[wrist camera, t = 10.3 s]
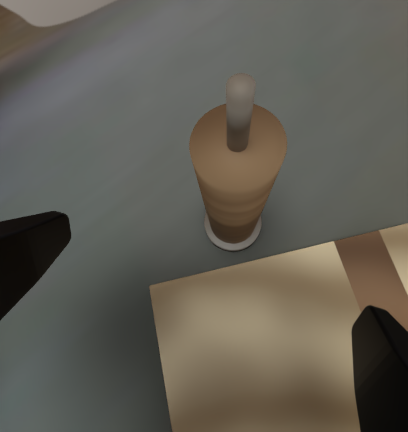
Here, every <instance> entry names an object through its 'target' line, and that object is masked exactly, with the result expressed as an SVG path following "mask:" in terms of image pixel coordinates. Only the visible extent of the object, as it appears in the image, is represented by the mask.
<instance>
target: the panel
mask: <svg viewBox="0 0 408 432" xmlns="http://www.w3.org/2000/svg"><path fill="white" fill-rule="evenodd" d="M149 288H150V294H151V301H152V307H153V313H154V319H155V326H156V332H157V338H158V345H159V351H160V357H161V364H162V370H163V376H164V382H165V389H166V395H167V401H168V408H169V414H170V420H171V426H172V432H361V431H360V425H359V418H358V412H357V406H356V399H355V391H354V376H353V356H352V335H351V331H352V326H353V324H354V322H355V321H356V320H357V318H358V317H359V315H360V314H361V312H362V311H363V309H364V308H365V307H366V306H368V305H372V306H375V307H379V308H382V309H385V310H387V311H388V312H389V313H390V314H391V315H392V316H393V317H394V318H395V319H396V320H397V321H398V322H399V323H400V324H401V325H402V326H403V327H404V328H405V329H406V330H407V331H408V223H407V224H403V225H399V226H395V227H391V228H386V229H382V230H378V231H374V232H370V233H366V234H362V235H357V236H353V237H349V238H345V239H341V240H337V241H332V242H328V243H324V244H320V245H316V246H312V247H308V248H303V249H299V250H295V251H291V252H287V253H283V254H279V255H274V256H270V257H266V258H262V259H258V260H254V261H250V262H245V263H241V264H237V265H233V266H229V267H225V268H221V269H216V270H212V271H208V272H204V273H200V274H196V275H192V276H187V277H183V278H179V279H175V280H171V281H167V282H163V283H158V284H154V285H150V286H149Z"/></svg>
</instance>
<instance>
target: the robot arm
mask: <svg viewBox="0 0 408 432" xmlns="http://www.w3.org/2000/svg"><path fill="white" fill-rule="evenodd" d="M70 239H71V230H70V224H69V218H68V216H67V215H66V214H64V213H61V212H57V211H50V212H45V213H41V214H36V215H31V216H26V217H21V218H16V219H11V220H6V221H1V222H0V320H1V319H2V318H3V317H4V316H5V315H6V314H7V313H8V312H9V311H10V310H11V309H12V308H13V307H14V306H15V305H16V303H17V302H18V301H19V300H20V299H21V298H22V297H23V296H24V295H25V294H26V293H27V292H28V291H29V290H30V289H31V288H32V287H33V286H34V285H35V284H36V283H37V281H38V280H39V279H40V278H41V277H42V276H43V274H44V273H45V272H46V271H47V269H48V268H49V267H50V266H51V264H52V263H53V262H54V261H55V259H56V258H57V257H58V256H59V254H60V253H61V252H62V251H63V249H64V248H65V247H66V246H67V244H68V243H69V241H70ZM351 335H352V356H353V376H354V391H355V399H356V406H357V412H358V418H359V425H360V431H361V432H408V331H407V330H406V329H405V328H404V327H403V326H402V325H401V324H400V323H399V322H398V321H397V320H396V319H395V318H394V317H393V316H392V315H391V314H390V313H389V312H388V311H387V310H385V309H382V308H379V307H375V306H372V305H368V306H366V307H365V308H364V309H363V311H362V312H361V314H360V315H359V317H358V318H357V320H356V321H355V322H354V324H353V326H352V331H351Z"/></svg>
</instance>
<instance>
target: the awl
mask: <svg viewBox="0 0 408 432" xmlns="http://www.w3.org/2000/svg"><path fill="white" fill-rule="evenodd" d="M255 87H256V83H255V80H254V79H253V77H251V76H250V75H248V74H245V73H238V74H235V75H233V76H231V77H230V78H229V79H228V81H227V83H226V104H224V105H220V106H218V107H216V108H214V109H212V110H210V111H209V112H207V113H206V114H205V115H204V116H203V117H202V118H200V120H199V121H198V122H197V124H196V125H195V127H194V129H193V131H192V134H191V137H190V143H189V146H190V155H191V158H192V162H193V166H194V169H195V173H196V176H197V180H198V183H199V187H200V191H201V194H202V198H203V201H204V205H205V209H206V214H205V219H204V225H205V229H206V232H207V235H208V237H209V239H210V240H211V242H212V243H213V244H214V245H215V246H217V247H218V248H220V249H222V250H225V251H231V252H235V251H241V250H244V249H246V248H247V247H249V246H250V245H251V244H253V242H254V241H255V240H256V238H257V237H258V235H259V233H260V230H261V225H262V220H261V213H262V210H263V208H264V205H265V203H266V201H267V198H268V196H269V194H270V191H271V189H272V186H273V184H274V182H275V179H276V177H277V175H278V172H279V170H280V167H281V165H282V163H283V160H284V158H285V155H286V150H287V138H286V134H285V131H284V128H283V126H282V125H281V123H280V121H279V120H278V119H277V118H276V117H275V116H274V115H273V114H272V113H271V112H269V111H268V110H266V109H264V108H262V107H260V106H258V105H255V104H253V102H254V94H255Z"/></svg>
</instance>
